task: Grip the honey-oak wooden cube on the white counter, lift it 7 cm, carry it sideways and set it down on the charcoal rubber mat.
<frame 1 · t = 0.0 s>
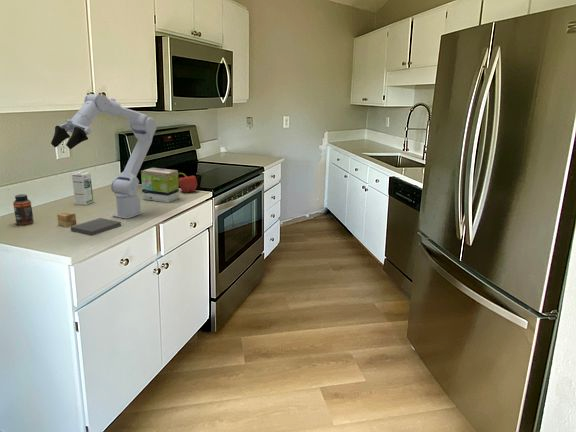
hand: (60, 146, 149), 32 cm above the countertop, tool tilted 50°, fingers open, 7 cm apart
syrup box: (84, 203, 198), on the countertop
charcoal mat: (96, 228, 165), on the countertop
supplement bottle: (25, 223, 167), on the countertop
tea box: (161, 199, 211), on the countertop
vegetable: (187, 192, 229), on the countertop
oak cube: (67, 224, 167), on the countertop
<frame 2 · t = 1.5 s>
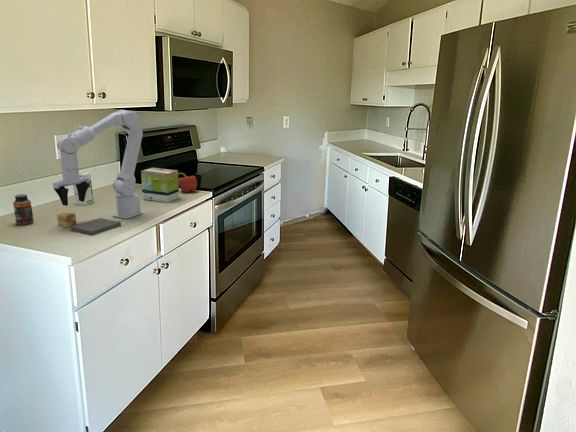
hand: (73, 203, 166), 9 cm above the countertop, tool pointing down, fingers open, 7 cm apart
nothing on the countertop moved.
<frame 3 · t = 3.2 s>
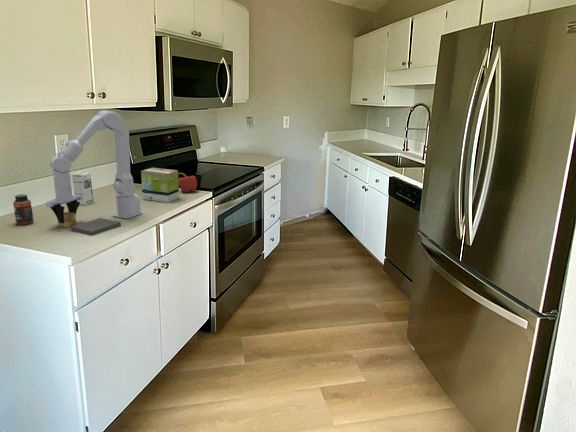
hand: (67, 221, 167), 1 cm above the countertop, tool pointing down, fingers closed on oak cube, 4 cm apart
oak cube: (67, 224, 167), on the countertop, touching gripper
everything else where it was.
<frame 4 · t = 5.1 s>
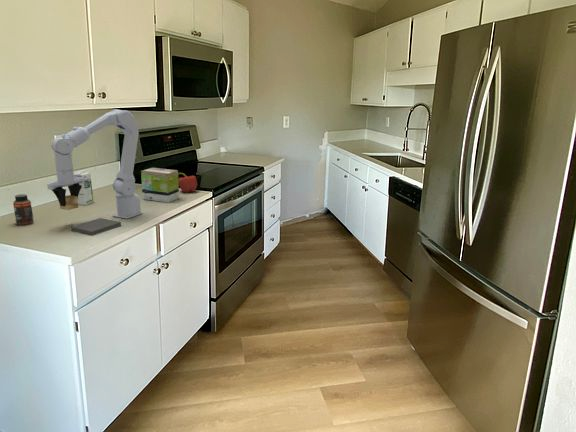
hand: (68, 204, 165), 8 cm above the countertop, tool pointing down, fingers closed on oak cube, 4 cm apart
oak cube: (69, 208, 165), point 7 cm above the countertop, touching gripper
everything else where it was.
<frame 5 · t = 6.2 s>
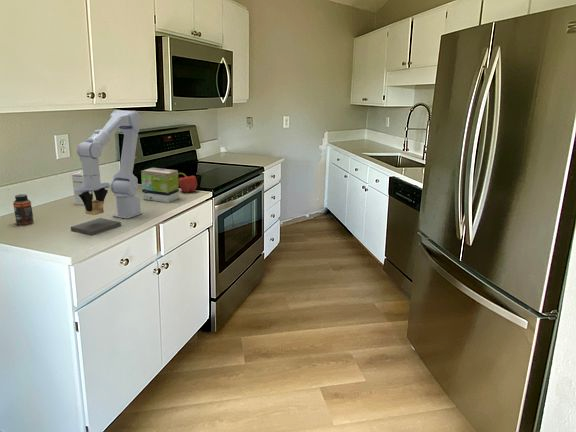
hand: (94, 209, 162), 7 cm above the countertop, tool pointing down, fingers closed on oak cube, 4 cm apart
oak cube: (94, 213, 163), point 6 cm above the countertop, touching gripper
everything else where it was.
when the fingers open (4 cm above the countertop, at t = 7.1 s): oak cube drops 1 cm, resting on charcoal mat.
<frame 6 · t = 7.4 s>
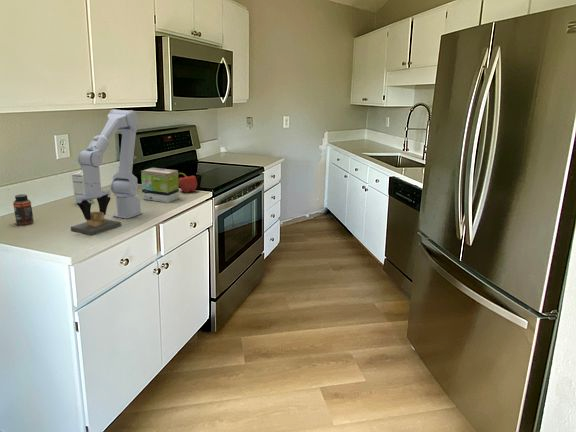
hand: (95, 217, 163), 4 cm above the countertop, tool pointing down, fingers open, 7 cm apart
oak cube: (95, 224, 164), point 1 cm above the countertop, touching charcoal mat
everything else where it was.
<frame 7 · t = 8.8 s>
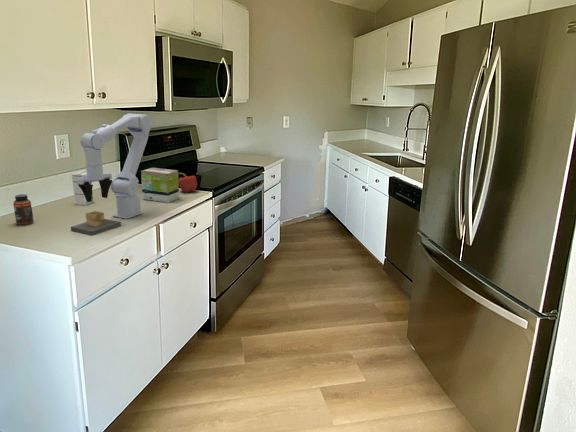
hand: (97, 199, 166), 10 cm above the countertop, tool pointing down, fingers open, 7 cm apart
nothing on the countertop moved.
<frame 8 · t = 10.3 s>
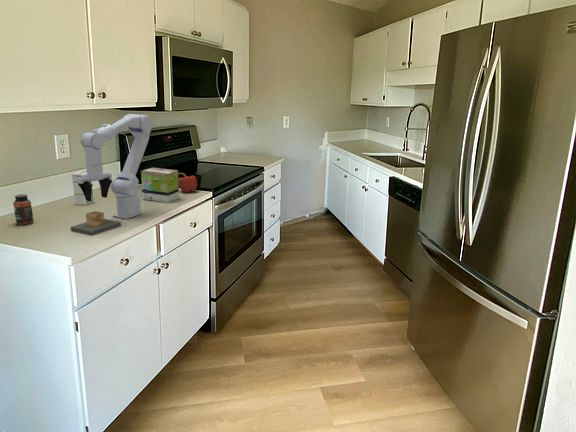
hand: (96, 199, 166), 10 cm above the countertop, tool pointing down, fingers open, 7 cm apart
nothing on the countertop moved.
at the end: oak cube inside the target area on the charcoal mat (0.2 cm from its centre), point 1.5 cm above the charcoal mat's base; oak cube tilted 0°; the gripper is holding nothing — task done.
